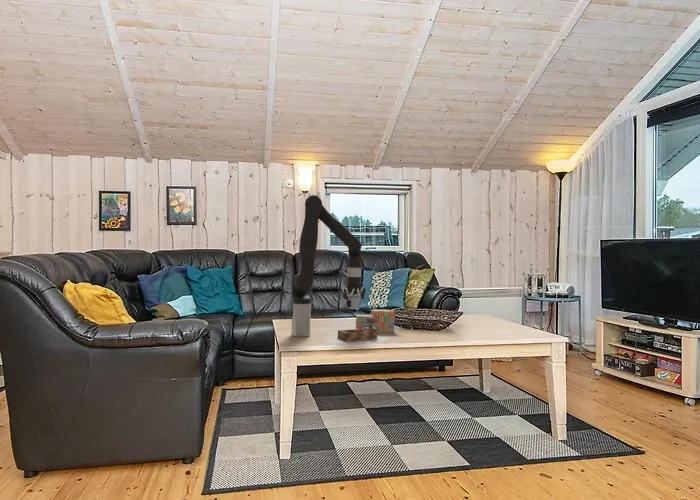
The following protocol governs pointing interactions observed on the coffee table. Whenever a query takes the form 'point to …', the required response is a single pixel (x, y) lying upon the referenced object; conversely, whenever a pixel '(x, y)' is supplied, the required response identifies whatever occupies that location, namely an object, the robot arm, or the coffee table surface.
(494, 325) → the coffee table surface
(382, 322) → the stack of blocks
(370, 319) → the wheel
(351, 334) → the chassis
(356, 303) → the block
